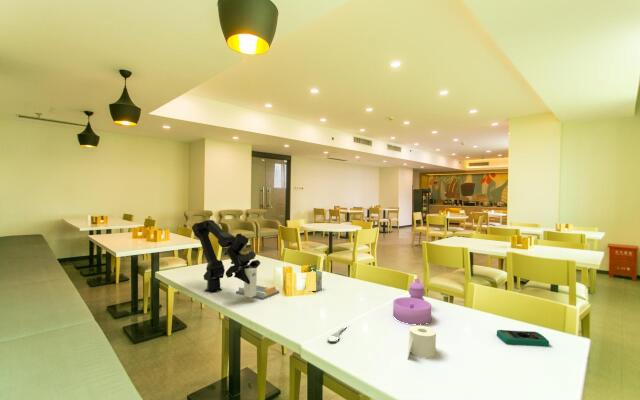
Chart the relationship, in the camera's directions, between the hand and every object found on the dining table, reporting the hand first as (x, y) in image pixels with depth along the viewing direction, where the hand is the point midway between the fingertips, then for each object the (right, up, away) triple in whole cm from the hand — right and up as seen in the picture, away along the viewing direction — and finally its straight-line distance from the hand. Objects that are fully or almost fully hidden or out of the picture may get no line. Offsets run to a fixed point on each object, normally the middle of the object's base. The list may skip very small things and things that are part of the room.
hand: (252, 282), depth 146 cm
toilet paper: (+64, -11, -46) cm, 79 cm away
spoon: (+40, -11, -32) cm, 52 cm away
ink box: (+30, -10, +20) cm, 37 cm away
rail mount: (0, -9, +14) cm, 16 cm away
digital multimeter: (+104, -12, -36) cm, 111 cm away
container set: (+73, -11, -12) cm, 75 cm away
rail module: (-1, -7, +1) cm, 7 cm away
